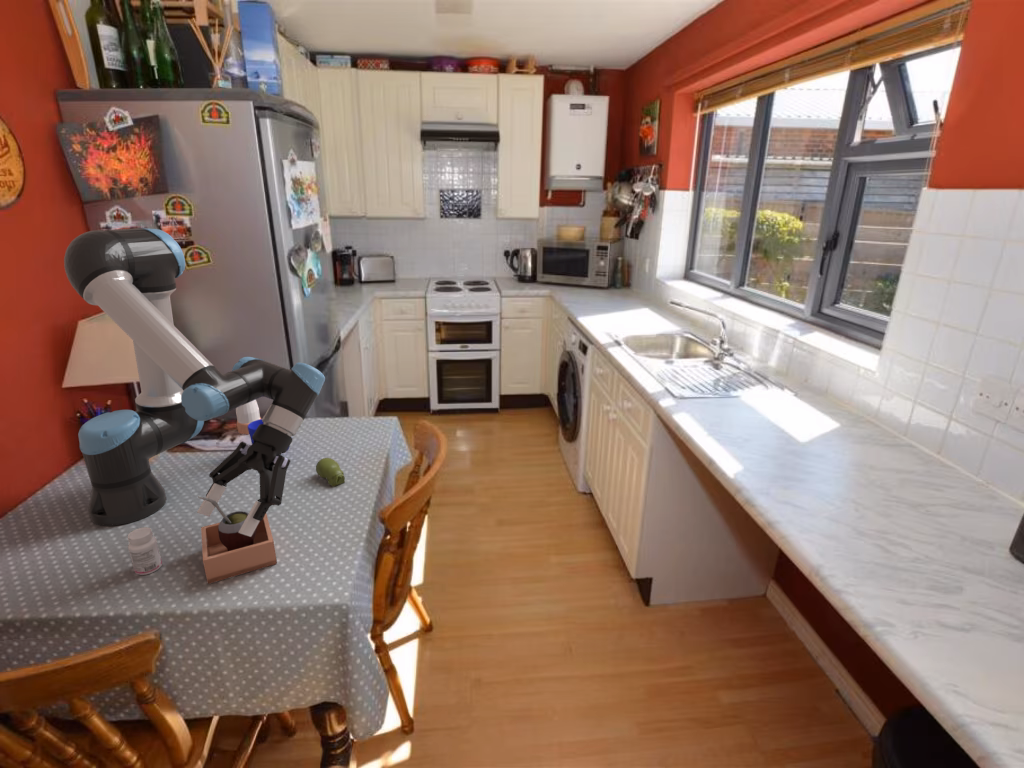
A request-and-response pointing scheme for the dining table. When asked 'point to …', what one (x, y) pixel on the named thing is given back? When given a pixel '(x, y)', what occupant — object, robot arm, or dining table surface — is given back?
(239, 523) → the mate gourd
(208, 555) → the box
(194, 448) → the dining table surface
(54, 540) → the dining table surface
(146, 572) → the pill bottle
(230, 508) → the dining table surface
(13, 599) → the dining table surface
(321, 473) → the pear
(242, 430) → the pepper shaker
